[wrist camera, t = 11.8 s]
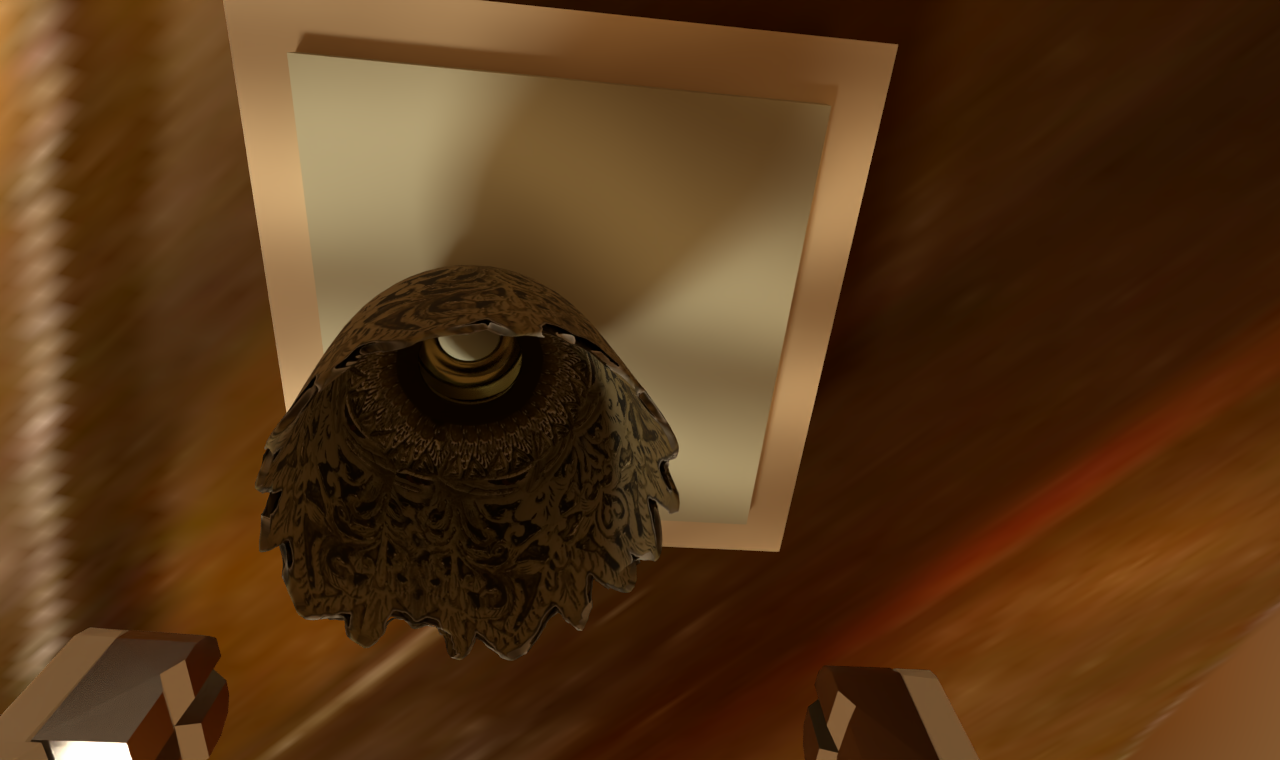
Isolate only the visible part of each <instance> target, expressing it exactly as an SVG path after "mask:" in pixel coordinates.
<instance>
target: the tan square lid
mask: <svg viewBox="0 0 1280 760" xmlns="http://www.w3.org/2000/svg"><path fill="white" fill-rule="evenodd" d="M223 3H224V10H225V16H226V23H227V29H228V36H229V42H230V49H231V55H232V62H233V68H234V75H235V81H236V87H237V94H238V100H239V107H240V113H241V120H242V126H243V133H244V139H245V146H246V152H247V159H248V165H249V172H250V178H251V185H252V191H253V198H254V204H255V211H256V217H257V224H258V230H259V237H260V243H261V249H262V256H263V262H264V269H265V275H266V282H267V288H268V295H269V301H270V308H271V314H272V321H273V327H274V334H275V340H276V347H277V353H278V360H279V366H280V373H281V379H282V386H283V392H284V399H285V405H286V412H288V410H289V409H290V407H291V406H292V404H293V403H294V401H295V399H296V398H297V396H298V394H299V393H300V391H301V389H302V388H303V386H304V384H305V383H306V381H307V380H308V378H309V376H310V375H311V373H312V372H313V370H314V369H315V367H316V365H317V364H318V362H319V361H320V359H321V358H322V356H323V355H324V353H325V352H326V350H327V349H328V347H329V346H330V345H331V343H332V342H333V341H334V339H335V338H336V337H337V335H338V334H339V333H340V331H341V330H342V329H343V327H344V326H345V325H346V324H347V323H348V322H349V321H350V320H351V318H352V317H353V316H354V315H355V314H356V313H357V312H358V311H359V310H360V309H361V308H362V307H363V306H364V305H366V304H367V303H368V302H369V301H371V300H372V299H373V298H374V297H376V296H377V295H378V294H380V293H381V292H383V291H385V290H386V289H388V288H389V287H391V286H393V285H394V284H396V283H398V282H400V281H402V280H404V279H406V278H408V277H410V276H413V275H416V274H419V273H422V272H424V271H428V270H432V269H436V268H441V267H448V266H456V265H481V266H492V267H497V268H502V269H507V270H510V271H513V272H517V273H520V274H523V275H525V276H527V277H530V278H532V279H534V280H536V281H538V282H540V283H542V284H543V285H545V286H547V287H549V288H551V289H552V290H554V291H556V292H557V293H558V294H560V295H561V296H562V297H564V298H565V299H567V300H568V301H569V302H570V303H571V304H572V305H573V306H574V307H576V308H577V309H578V310H579V311H580V312H581V313H582V314H583V315H584V316H585V317H586V318H587V319H588V320H589V321H590V322H591V323H592V324H593V326H594V327H595V328H596V329H597V330H598V331H599V333H600V334H601V335H602V336H603V337H604V339H605V340H606V341H607V342H608V344H609V345H610V346H611V347H612V349H613V350H614V351H615V352H616V354H617V355H618V356H619V357H620V359H621V360H622V361H623V362H624V364H625V365H626V366H627V368H628V369H629V370H630V372H631V373H632V374H633V376H634V377H635V378H636V379H637V381H638V382H639V383H640V384H641V386H642V387H643V388H644V389H645V390H646V392H647V393H648V395H649V396H650V398H651V399H652V400H653V402H654V403H655V405H656V406H657V407H658V409H659V410H660V411H661V413H662V414H663V416H664V417H665V419H666V420H667V422H668V424H669V425H670V427H671V429H672V431H673V433H674V435H675V437H676V439H677V441H678V445H679V452H678V455H677V458H675V459H673V460H669V467H668V468H669V472H670V474H671V477H672V479H673V481H674V483H675V486H676V488H677V490H678V492H679V499H680V506H679V512H677V513H673V514H668V511H667V510H666V509H664V508H663V507H662V506H661V505H659V504H658V503H657V505H658V511H659V515H660V520H661V527H662V546H666V547H687V548H709V549H731V550H753V551H774V552H779V551H780V546H781V542H782V538H783V534H784V529H785V525H786V521H787V517H788V512H789V508H790V504H791V500H792V495H793V491H794V487H795V483H796V478H797V474H798V470H799V465H800V461H801V457H802V453H803V448H804V444H805V440H806V436H807V431H808V427H809V423H810V419H811V414H812V410H813V406H814V402H815V397H816V393H817V389H818V385H819V380H820V376H821V372H822V368H823V363H824V359H825V355H826V351H827V346H828V342H829V338H830V334H831V329H832V325H833V321H834V317H835V312H836V308H837V304H838V300H839V295H840V291H841V287H842V283H843V278H844V274H845V270H846V265H847V261H848V257H849V253H850V248H851V244H852V240H853V236H854V231H855V227H856V223H857V219H858V214H859V210H860V206H861V202H862V197H863V193H864V189H865V185H866V180H867V176H868V172H869V168H870V163H871V159H872V155H873V151H874V146H875V142H876V138H877V134H878V129H879V125H880V121H881V117H882V112H883V108H884V104H885V100H886V95H887V91H888V87H889V83H890V78H891V74H892V70H893V65H894V61H895V57H896V53H897V48H898V44H889V43H879V42H870V41H860V40H851V39H841V38H832V37H823V36H813V35H804V34H794V33H785V32H775V31H766V30H757V29H747V28H738V27H728V26H719V25H709V24H700V23H690V22H681V21H672V20H662V19H653V18H643V17H634V16H624V15H615V14H606V13H596V12H587V11H577V10H568V9H558V8H549V7H540V6H530V5H521V4H511V3H502V2H492V1H483V0H223ZM438 338H439V342H440V344H441V346H442V348H443V349H444V350H445V351H446V352H447V353H448V354H449V355H451V356H452V357H454V358H457V359H460V360H466V361H471V360H477V359H481V358H483V357H485V356H487V355H488V354H490V353H491V352H492V351H493V350H494V348H495V347H496V345H497V343H498V340H499V335H498V334H495V333H492V332H490V331H489V330H483V331H479V332H476V333H473V334H466V335H452V336H444V337H438Z"/></svg>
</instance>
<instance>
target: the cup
mask: <svg viewBox="0 0 1280 760" xmlns="http://www.w3.org/2000/svg"><path fill="white" fill-rule="evenodd" d="M483 330H489V331H490V332H492V333H495V334H498V335H499V340H498V343H497V345H496V347H495V348H494V350H493V351H492V352H491V353H490V354H488V355H487V356H485V357H483V358H481V359H477V360H471V361H466V360H460V359H457V358H454V357H452V356H451V355H449V354H448V353H447V352H446V351H445V350H444V349H443V348H442V346H441V344H440V342H439V338H438V337H444V336H452V335H466V334H473V333H476V332H479V331H483ZM267 448H268V449H267ZM265 449H267V450H266V452H265V454H264V455H263V462H262V466H261V469H260V471H259V474H258V476H257V479H256V482H255V488H256V489H257V490H258V491H260V492H262V493H265V492H270V495H269V498H268V500H267V504H266V507H265V509H264V511H263V513H262V514H261V532H260V539H259V551H260V552H266V551H269V550H272V549H273V548H275V547H277V546H279V547H280V550H281V554H282V559H283V570H282V577H283V580H284V582H285V585H286V587H287V590H288V592H289V595H290V597H291V599H292V601H293V604H294V606H295V609H296V611H297V613H298V614H299V615H300V616H301V617H303V618H304V619H308V620H318V619H326V618H328V619H329V620H333V619H336V620H344V621H345V629H346V630H345V631H346V635H347V636H348V637H349V638H350V639H351V640H352V641H354V642H355V643H357V644H359V645H360V646H362V647H363V648H368V647H371V646H372V645H374V644H375V643H376V642H378V640H379V638H380V637H381V636H382V635H383V634H384V633H385V631H386V628H387V627H386V626H387V625H388V624H389V622H390V621H392V620H393V619H400V620H402V619H403V620H405V621H406V622H407V623H408V624H409V625H410V626H411V628H414V629H418V628H421V627H424V626H431V625H434V626H436V628H437V629H438V631H439V633H440V635H443V636H444V638H445V643H446V648H447V652H448V654H449V655H450V657H451V658H454V659H457V660H461V659H463V658H465V657H466V656H467V655H468V654H469V653H470V651H471V649H472V647H473V645H474V643H475V639H476V638H477V639H479V640H480V641H482V642H483V643H484V644H485V645H486V646H487V647H488V648H489V649H491V650H493V651H495V652H496V653H497V654H499V656H500V657H501V658H503V659H507V660H511V661H513V660H516V659H517V658H519V657H521V656H522V655H524V654H526V653H527V652H528V651H529V650H530V649H531V647H532V646H533V645H534V643H535V642H536V641H537V640H538V639H539V637H540V635H541V633H542V631H543V629H544V627H545V626H546V623H547V622H548V620H549V619H550V618H551V617H553V616H554V615H555V614H557V613H560V614H561V615H562V617H563V619H565V620H566V622H567V623H570V624H571V625H572V626H574V627H575V628H576V629H577V630H579V631H582V630H583V628H584V627H585V625H586V622H587V621H588V618H589V614H590V611H591V609H592V607H593V603H592V598H591V597H592V587H593V586H592V585H593V584H592V582H593V579H594V578H595V579H596V581H597V582H599V583H600V584H601V585H603V586H604V587H605V588H608V589H609V588H612V589H614V590H617V591H619V592H623V593H628V592H631V591H632V589H633V588H634V587H635V583H636V580H637V573H636V565H637V564H639V563H640V560H652V561H656V560H658V558H659V557H660V554H661V550H662V527H661V520H660V515H659V511H658V505H657V503H658V504H659V505H661V506H662V507H663V508H664V509H666V510H667V511H668V514H673V513H677V512H679V506H680V499H679V492H678V490H677V488H676V486H675V483H674V481H673V479H672V477H671V474H670V472H669V468H668V467H669V460H673V459H675V458H677V455H678V452H679V445H678V441H677V439H676V437H675V435H674V433H673V431H672V429H671V427H670V425H669V424H668V422H667V420H666V419H665V417H664V416H663V414H662V413H661V411H660V410H659V409H658V407H657V406H656V405H655V403H654V402H653V400H652V399H651V398H650V396H649V395H648V393H647V392H646V390H645V389H644V388H643V387H642V386H641V384H640V383H639V382H638V381H637V379H636V378H635V377H634V376H633V374H632V373H631V372H630V370H629V369H628V368H627V366H626V365H625V364H624V362H623V361H622V360H621V359H620V357H619V356H618V355H617V354H616V352H615V351H614V350H613V349H612V347H611V346H610V345H609V344H608V342H607V341H606V340H605V339H604V337H603V336H602V335H601V334H600V333H599V331H598V330H597V329H596V328H595V327H594V326H593V324H592V323H591V322H590V321H589V320H588V319H587V318H586V317H585V316H584V315H583V314H582V313H581V312H580V311H579V310H578V309H577V308H576V307H574V306H573V305H572V304H571V303H570V302H569V301H568V300H567V299H565V298H564V297H562V296H561V295H560V294H558V293H557V292H556V291H554V290H552V289H551V288H549V287H547V286H545V285H543V284H542V283H540V282H538V281H536V280H534V279H532V278H530V277H527V276H525V275H523V274H520V273H517V272H513V271H510V270H507V269H502V268H497V267H492V266H481V265H456V266H448V267H441V268H436V269H432V270H428V271H424V272H422V273H419V274H416V275H413V276H410V277H408V278H406V279H404V280H402V281H400V282H398V283H396V284H394V285H393V286H391V287H389V288H388V289H386V290H385V291H383V292H381V293H380V294H378V295H377V296H376V297H374V298H373V299H372V300H371V301H369V302H368V303H367V304H366V305H364V306H363V307H362V308H361V309H360V310H359V311H358V312H357V313H356V314H355V315H354V316H353V317H352V318H351V320H350V321H349V322H348V323H347V324H346V325H345V326H344V327H343V329H342V330H341V331H340V333H339V334H338V335H337V337H336V338H335V339H334V341H333V342H332V343H331V345H330V346H329V347H328V349H327V350H326V352H325V353H324V355H323V356H322V358H321V359H320V361H319V362H318V364H317V365H316V367H315V369H314V370H313V372H312V373H311V375H310V376H309V378H308V380H307V381H306V383H305V384H304V386H303V388H302V389H301V391H300V393H299V394H298V396H297V398H296V399H295V401H294V403H293V404H292V406H291V407H290V409H289V410H288V412H287V413H286V414H285V416H284V417H283V418H282V419H281V421H280V422H279V423H278V425H277V426H276V428H275V429H274V431H273V432H272V433H271V435H270V437H269V438H268V440H267V443H266V445H265ZM638 557H640V558H638ZM559 611H560V612H559ZM390 616H393V617H397V618H392V619H390V620H389V621H388V622H386V621H387V620H388V618H389V617H390ZM426 623H427V624H426ZM429 624H430V625H429ZM434 626H431V627H434Z"/></svg>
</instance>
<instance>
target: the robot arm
mask: <svg viewBox="0 0 1280 760" xmlns="http://www.w3.org/2000/svg"><path fill="white" fill-rule="evenodd" d="M220 657H221V654H220V650H219V647H218V643H217V639H216V638H214V637H210V636H203V635H190V634H177V633H164V632H150V631H137V630H116V629H102V628H88V629H86V630H84V631H82V632H81V633H79V634H77V635H75V636H74V637H73V638H72V639H71V640H70V641H69V642H68V643H67V644H66V646H65V647H64V648H63V649H62V650H61V651H60V652H59V653H58V654H57V655H56V656H55V657H54V659H53V660H52V661H51V662H50V663H49V664H48V665H47V666H46V667H45V668H44V669H43V671H42V672H41V673H40V674H39V675H38V676H37V677H36V678H35V679H34V680H33V681H32V683H31V684H30V685H29V686H28V687H27V688H26V689H25V690H24V691H23V692H22V693H21V694H20V696H19V697H18V698H17V699H16V700H15V701H14V702H13V703H12V704H11V705H10V706H9V708H8V709H7V710H6V711H5V712H4V713H3V714H2V715H1V716H0V760H206V759H208V758H209V757H210V755H211V753H212V751H213V749H214V747H215V746H216V744H217V742H218V740H219V738H220V736H221V734H222V730H223V727H224V724H225V721H226V717H227V714H228V706H229V691H228V686H227V681H226V680H225V679H224V678H223V677H222V676H220V675H219V674H218V673H217V672H216V671H215V670H214V669H213V668H214V667H215V665H216V664H217V662H218V661H219V659H220ZM815 688H816V691H817V694H818V698H819V699H818V700H817V701H815V702H814V703H813V704H812V705H810V706H809V707H808V709H807V713H806V717H805V721H804V731H803V748H804V755H805V760H979V758H978V756H977V754H976V752H975V750H974V748H973V746H972V744H971V742H970V740H969V738H968V736H967V735H966V733H965V731H964V729H963V727H962V725H961V723H960V721H959V719H958V717H957V715H956V713H955V711H954V709H953V707H952V705H951V703H950V702H949V700H948V698H947V696H946V694H945V692H944V690H943V688H942V686H941V684H940V682H939V680H938V678H937V676H936V675H934V674H933V673H932V672H931V671H930V670H917V669H891V668H877V667H850V666H823V667H822V668H821V670H820V671H819V672H818V675H817V679H816V682H815Z"/></svg>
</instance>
